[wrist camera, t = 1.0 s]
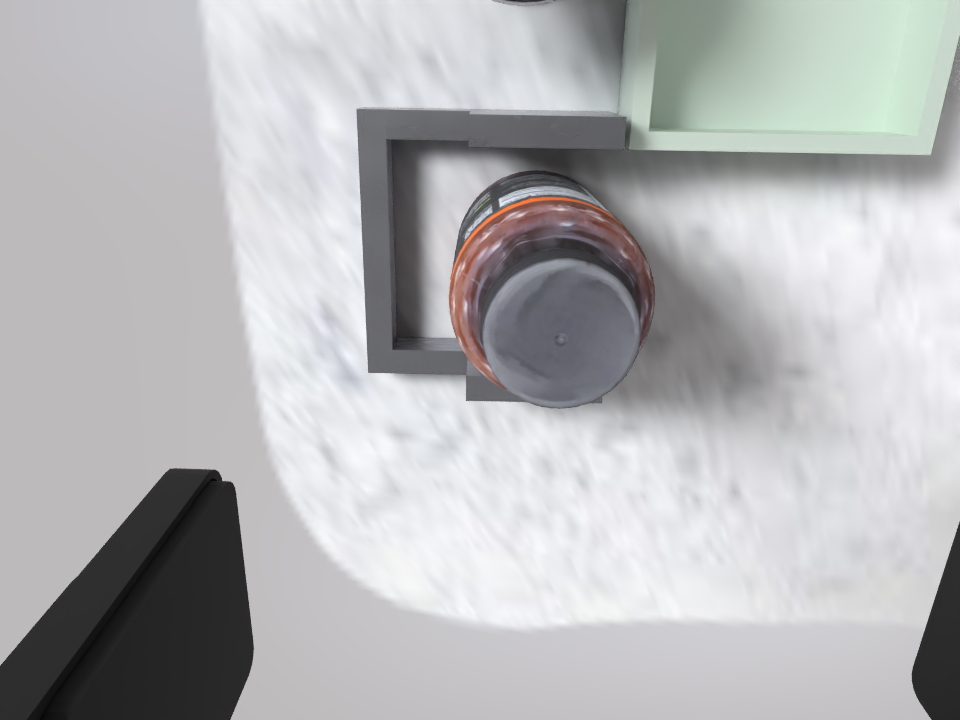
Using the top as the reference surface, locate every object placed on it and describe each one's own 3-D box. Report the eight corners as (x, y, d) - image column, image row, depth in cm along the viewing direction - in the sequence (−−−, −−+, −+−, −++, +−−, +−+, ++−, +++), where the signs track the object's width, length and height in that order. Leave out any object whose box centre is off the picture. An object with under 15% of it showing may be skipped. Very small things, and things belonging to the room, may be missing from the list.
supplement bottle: (584, 330, 29) (639, 469, 19) (443, 298, 29) (419, 423, 18) (628, 186, 27) (716, 253, 17) (476, 150, 27) (469, 194, 16)
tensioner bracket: (606, 111, 26) (626, 116, 23) (587, 363, 30) (601, 403, 26) (363, 107, 26) (343, 112, 23) (373, 359, 30) (357, 398, 26)
